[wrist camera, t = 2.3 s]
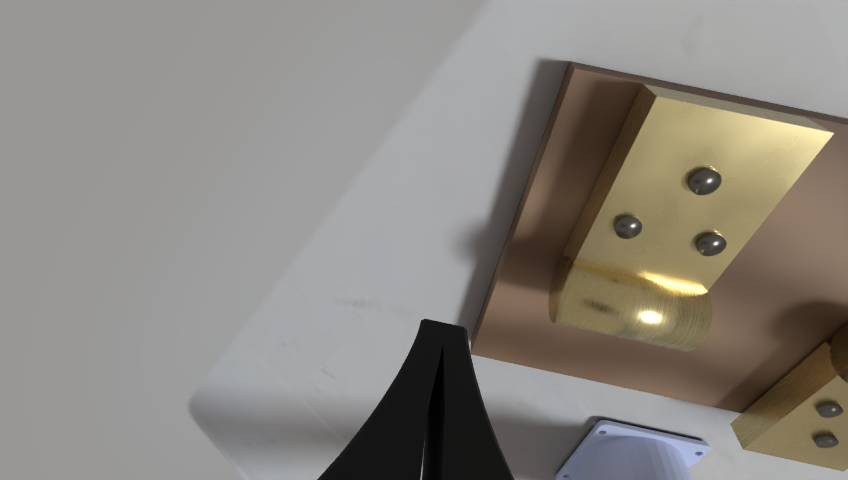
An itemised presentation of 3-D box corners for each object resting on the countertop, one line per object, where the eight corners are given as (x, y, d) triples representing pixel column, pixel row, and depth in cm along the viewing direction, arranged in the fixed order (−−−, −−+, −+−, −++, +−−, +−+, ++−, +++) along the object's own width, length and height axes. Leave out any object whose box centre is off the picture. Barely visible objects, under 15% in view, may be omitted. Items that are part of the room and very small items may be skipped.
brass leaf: (658, 314, 21) (681, 365, 19) (545, 290, 21) (552, 337, 19) (804, 117, 15) (870, 152, 12) (642, 83, 15) (674, 111, 12)
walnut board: (841, 419, 26) (854, 437, 25) (471, 339, 26) (470, 354, 25) (1177, 187, 16) (1222, 202, 15) (569, 61, 16) (574, 68, 15)
